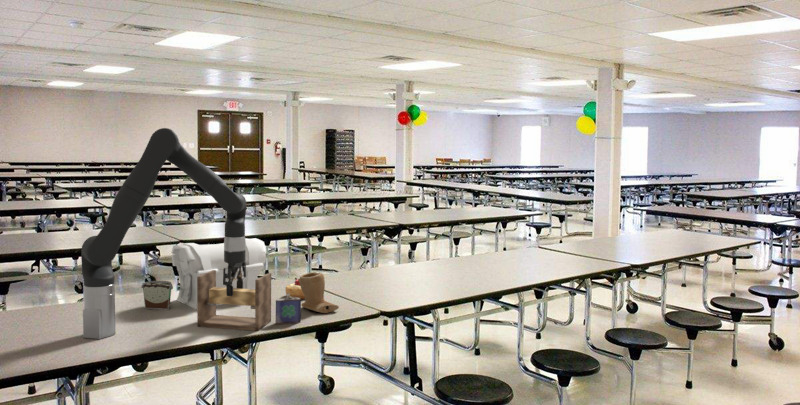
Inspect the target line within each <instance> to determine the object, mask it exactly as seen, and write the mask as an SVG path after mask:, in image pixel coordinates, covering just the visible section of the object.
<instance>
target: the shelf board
mask: <svg viewBox="0 0 800 405" xmlns="http://www.w3.org/2000/svg"><path fill="white" fill-rule="evenodd" d="M209 303H214V304H223V305H230V306H246V307H247V306H250V307H251V306H255V290H254V289H238V288H233V296H227V291H226V288H221V287H213V288H211V289H209Z"/></svg>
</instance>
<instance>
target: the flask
mask: <svg viewBox="0 0 800 405" xmlns="http://www.w3.org/2000/svg"><path fill="white" fill-rule="evenodd" d="M285 295H286V298H277V299H276V300H275V324H276V325H288V324H299V323H301V322H302V319H301V318H302V317H301V316H302V310H301V309H302V299H300V298H297V297H295V298H294V297H291V296H290V294H286V293H285Z"/></svg>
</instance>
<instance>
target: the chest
mask: <svg viewBox="0 0 800 405" xmlns="http://www.w3.org/2000/svg"><path fill="white" fill-rule="evenodd" d="M245 241H246V261H245V262H246V277H245V278H244V280H243V289H254V290H255V280H256V279H258V278H259V277H258V276H259V275H260V274H261V270H264V269H265V266H264V265H265V264H266V260H267V259H266V255H267V249H266V246H265V244H264V241H263V240H261V239H259V238H256V237H255V238H246V237H245ZM170 256H171V262H172V267H176V270H177V273H178V277H179V285H180V286H179V290H178V295H177V298H176V301H178V302H180V303H182V304H184V305H186V306H188V307H190V308H192V309H195V310H197V276H200V275H202V274H205V273H207V272H209V271H212V270H216V287H221V288H226V285H223V269H224V268H228V263H226V262H224V242H223V243H216V244H215V243H213V244H212V243H211V244H210V243H209V244H198V243H195V242H186V243H185V242H184V243H183V244H182V245H177V244H176V245H175V244H173V245H172V249H171V255H170ZM243 273H244V272H243ZM233 288H237V279H236V280H235V281H234V283H233ZM222 305H224V304H216V307H217V306H222Z"/></svg>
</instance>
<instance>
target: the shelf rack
mask: <svg viewBox="0 0 800 405" xmlns="http://www.w3.org/2000/svg"><path fill="white" fill-rule="evenodd" d="M213 287H216V270H212V271H209V272H207V273H205V274H202V275H200V276H197V309H196V310H197V316H196V317H197V321H196V322H197V327H201V328H211V329H215V328H216V329H227V330H228V329H231V330H243V331H253V332H254V331H255V332H256V331H257V332H258V331H260V330H262V329H263V328H265V326H267V325H268V324H270V323H271V322H272V273H271V272H270V273H269V272H267V273H266V274H264V275H262V276H260V277H258V279H256V280H255V306H250V309H251V310H254V311H255V312H254V314H255V316H254V317H249V316H239V315H238V316H234V315H223V314H222V315H220V314H217V306H216V304H214V303H209V289H211V288H213Z"/></svg>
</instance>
